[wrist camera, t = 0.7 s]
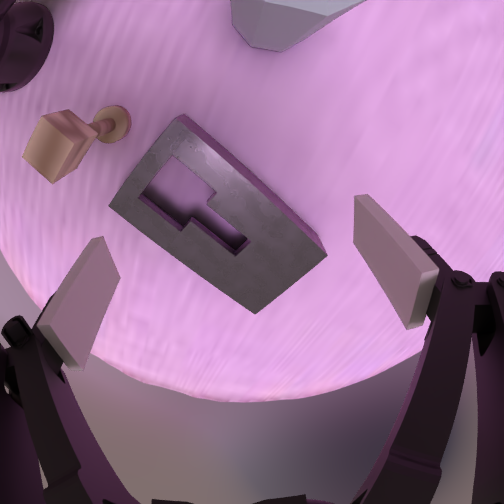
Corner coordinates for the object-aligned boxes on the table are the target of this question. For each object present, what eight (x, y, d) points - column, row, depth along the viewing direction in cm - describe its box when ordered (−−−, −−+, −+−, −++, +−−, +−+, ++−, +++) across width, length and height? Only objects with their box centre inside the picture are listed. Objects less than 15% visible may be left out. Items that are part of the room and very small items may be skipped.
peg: (92, 127, 35) (19, 157, 20) (112, 98, 33) (41, 112, 18) (117, 147, 37) (53, 187, 22) (138, 119, 35) (77, 143, 20)
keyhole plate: (123, 190, 40) (108, 205, 35) (184, 113, 35) (175, 117, 30) (253, 290, 50) (255, 314, 45) (317, 235, 45) (327, 255, 40)
